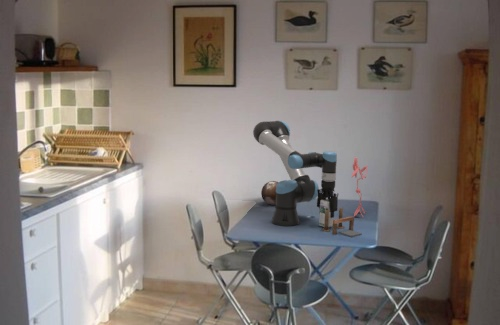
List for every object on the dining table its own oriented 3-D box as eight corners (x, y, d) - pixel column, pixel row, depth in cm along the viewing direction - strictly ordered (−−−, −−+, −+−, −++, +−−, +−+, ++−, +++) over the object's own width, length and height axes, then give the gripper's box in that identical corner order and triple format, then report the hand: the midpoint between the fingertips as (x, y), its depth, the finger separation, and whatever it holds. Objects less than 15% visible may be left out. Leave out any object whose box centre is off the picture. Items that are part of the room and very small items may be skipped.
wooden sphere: (258, 206, 372) (259, 182, 370) (263, 201, 387) (264, 178, 384) (282, 208, 369) (283, 184, 367) (286, 202, 383) (287, 179, 381)
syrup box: (318, 225, 327) (319, 199, 325) (326, 223, 331) (327, 198, 328) (325, 227, 323) (327, 201, 320) (333, 226, 326) (335, 200, 324)
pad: (339, 233, 314) (339, 232, 314) (350, 231, 319) (350, 229, 319) (351, 237, 308) (351, 235, 308) (361, 234, 313) (361, 233, 313)
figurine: (367, 210, 366) (369, 154, 361) (362, 220, 342) (364, 160, 337) (342, 209, 371) (344, 153, 365) (336, 218, 346) (337, 159, 341)
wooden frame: (320, 230, 320) (321, 210, 318) (339, 226, 329) (340, 206, 328) (334, 234, 312) (335, 214, 310) (353, 230, 322) (354, 210, 320)
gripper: (311, 177, 327) (309, 218, 331) (336, 183, 313) (334, 226, 317) (320, 176, 332) (318, 217, 336) (346, 182, 318) (343, 224, 322)
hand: (326, 221), depth 326 cm, fingers closed on syrup box, 6 cm apart
